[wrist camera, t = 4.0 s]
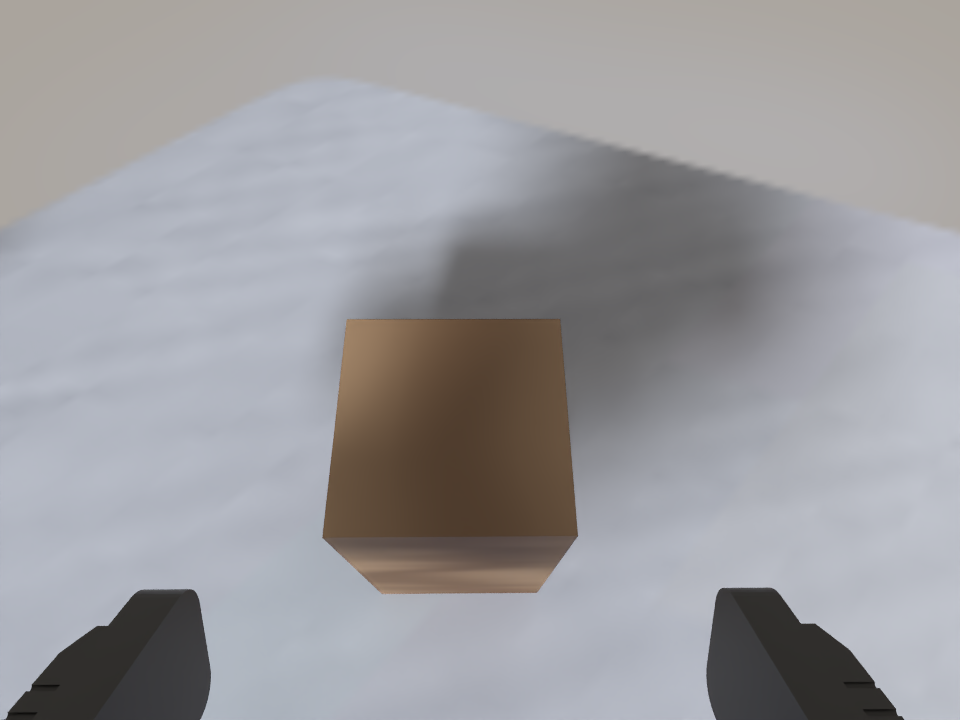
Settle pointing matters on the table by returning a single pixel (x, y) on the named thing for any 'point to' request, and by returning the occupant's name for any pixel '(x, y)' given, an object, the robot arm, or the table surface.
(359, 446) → the walnut block
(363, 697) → the table surface
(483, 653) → the table surface
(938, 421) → the table surface
